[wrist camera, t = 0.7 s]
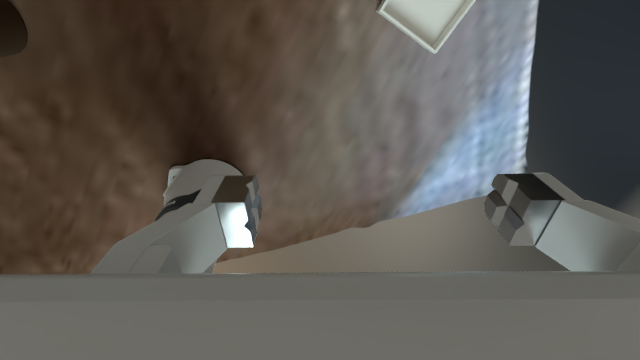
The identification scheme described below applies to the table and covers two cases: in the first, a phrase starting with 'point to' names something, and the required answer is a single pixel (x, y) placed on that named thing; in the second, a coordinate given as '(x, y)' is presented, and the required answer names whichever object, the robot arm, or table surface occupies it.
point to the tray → (425, 18)
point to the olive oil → (11, 30)
